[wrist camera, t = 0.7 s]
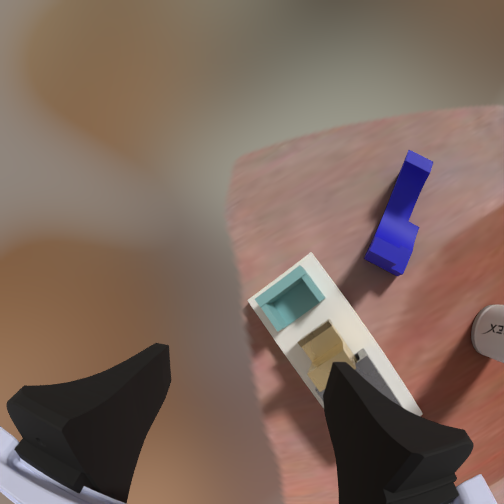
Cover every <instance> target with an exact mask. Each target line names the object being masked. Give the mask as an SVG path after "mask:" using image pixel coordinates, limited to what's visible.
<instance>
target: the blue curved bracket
mask: <svg viewBox="0 0 504 504" xmlns="http://www.w3.org/2000/svg"><path fill="white" fill-rule="evenodd" d="M432 165H433V162H432V161H431V160H429V159H427V158H425V157H423V156H421V155H419V154H417V153H415V152H413V151H410V150H409V151H408V153H407V156H406V158H405V161H404V163H403V165H402V168H401V170H400V173H399V175H398V178H397V181H396V184H395V186H394V189H393V192H392V194H391V197H390V199H389V202H388V204H387V207H386V209H385V212H384V214H383V217H382V219H381V221H380V224H379V226H378V228H377V231H376V233H375V235H374V238H373V240H372V242H371V244H370V246H369V249H368V251H367V253H366V255H365V257H364V259H365V260H367V261H369V262H371V263H373V264H375V265H377V266H379V267H381V268H382V269H384V270H386V271H388V272H390V273H392V274H394V275H396V276H399V275H402V274H403V273H404V270H405V268H406V266H407V263H408V261H409V259H410V256H411V254H412V251H413V246H414V242H415V238H416V235H417V232H418V229H419V227H418V226H416V225H414V224H412V223H410V222H408V221H409V218H410V216H411V213H412V211H413V208H414V206H415V203H416V201H417V199H418V196H419V194H420V192H421V190H422V188H423V185H424V183H425V181H426V179H427V177H428V176H429V174H430V172H431V168H432Z"/></svg>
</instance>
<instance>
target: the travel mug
mask: <svg viewBox="0 0 504 504" xmlns="http://www.w3.org/2000/svg"><path fill="white" fill-rule="evenodd" d="M471 340H472V344H473V347H474V348H475V350H476V351H477V352H478V353H480V354H482V355H484V356H487V357H490V358H492V359H495V360H497V361H500V362H502V363H504V305H488V306H486V307H484V308H483V309H482V310H481V311H480V312H479V313H478V314H477V316H476V318H475V320H474V322H473V326H472V331H471Z"/></svg>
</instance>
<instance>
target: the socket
mask: <svg viewBox="0 0 504 504" xmlns="http://www.w3.org/2000/svg"><path fill="white" fill-rule="evenodd" d="M324 299H325V296H324V295H323V293H322V292H321V291H320V289H319V288H318V287H317V285H316V284H315V283H314V281H313V280H312V278H311V277H310V276H309V274H308V273H307V272H306V270H305V269H304V268H303V267H302V266H300V265H299V266H298V267H297V268H295V269H294V270H293V271H291V272H290V273H289V274H287V275H286V276H285V277H283V278H282V279H281V280H279V281H278V282H277V283H275V284H274V285H273V286H271V287H270V288H269V289H267V290H266V291H265V292H263V293H262V294H261V295H259V296H258V297H257V298H255V300H256V302H257V303H258V305H259V306H260V307H261V308H262V310H263V311H264V313H265V314H266V316H267V317H268V319H269V320H270V321H271V323H272V324H273V326H274V327H275V329H276V330H277V332H278V331H280V330H282V329H283V328H285V327H286V326H288V325H289V324H291V323H292V322H294V321H295V320H296V319H298V318H299V317H301V316H302V315H303V314H305V313H306V312H308V311H309V310H310V309H312V308H313V307H314V306H316V305H317V304H318V303H320V302H321V301H323V300H324Z"/></svg>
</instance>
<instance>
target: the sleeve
mask: <svg viewBox="0 0 504 504" xmlns="http://www.w3.org/2000/svg"><path fill="white" fill-rule="evenodd" d="M354 355H355V357H356V358H357V360H358V361H357V362H356V363H355V365H356V369H355V370H356V371H357V372H358V373H359V374H360V375H361V376H362V377H363V378H364V379H365V380H366V381H368V382H369V383H370V384H371V385H372V386H373V387H375V388H376V389H377V390H378V391H379V392H381V393H382V394H383V395H385V396H386V397H387V398H389V399H390V400H392V401H393V402H394V403H396V404H398V405H399V406H401V407H403V406H402V404H401V403H400V401H399V400H398V398H397V397H396V395H395V394H394V392H393V391H392V389H391V388H390V386H389V385H388V383H387V382H386V380H385V379H384V377H383V376H382V374H381V373H380V371H379V370H378V368H377V367H376V365H375V364H374V362H373V361H372V360H371V358H370V357H369V355H368V354H367V352H366V351H365V349H364V348H362V349H361V350H360V351H358V352H357V353H356V354H354ZM315 391H316V392H317V393H318V395H319V396H320V398H321V399H322V400H323V394H324V391H325V389H324V390H323V391H321V392H319V390H318V389H317V387H316V388H315Z"/></svg>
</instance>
